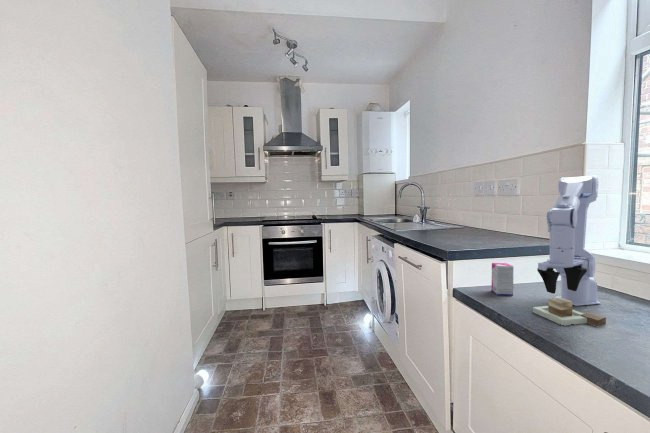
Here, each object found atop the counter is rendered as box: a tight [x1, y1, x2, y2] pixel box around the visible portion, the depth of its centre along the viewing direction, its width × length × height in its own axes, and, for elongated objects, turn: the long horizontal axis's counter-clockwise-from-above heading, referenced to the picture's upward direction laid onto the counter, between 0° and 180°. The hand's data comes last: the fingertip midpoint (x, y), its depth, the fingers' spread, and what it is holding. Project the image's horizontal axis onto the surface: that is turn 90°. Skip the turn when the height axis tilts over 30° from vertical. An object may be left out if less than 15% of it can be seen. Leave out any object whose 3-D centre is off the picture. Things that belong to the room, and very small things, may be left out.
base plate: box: [532, 305, 588, 326], centre depth 85 cm, size 10×10×2 cm
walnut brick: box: [581, 311, 607, 327], centre depth 80 cm, size 4×4×2 cm
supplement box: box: [491, 262, 514, 297], centre depth 107 cm, size 6×6×12 cm
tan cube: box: [547, 296, 573, 317], centre depth 85 cm, size 4×4×4 cm
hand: (561, 291), depth 84 cm, fingers open, 7 cm apart
